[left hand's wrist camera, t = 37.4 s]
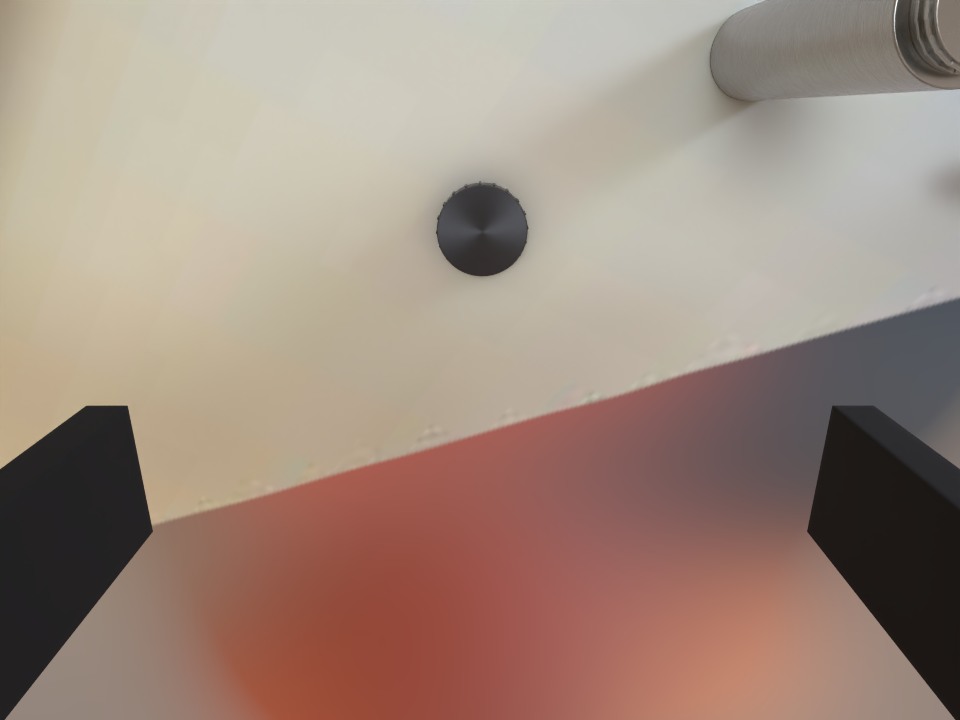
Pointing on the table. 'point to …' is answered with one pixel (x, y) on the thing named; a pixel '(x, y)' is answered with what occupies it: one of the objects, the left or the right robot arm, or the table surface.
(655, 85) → the table surface
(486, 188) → the lid
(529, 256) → the table surface
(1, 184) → the table surface
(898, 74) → the steel thermos bottle
